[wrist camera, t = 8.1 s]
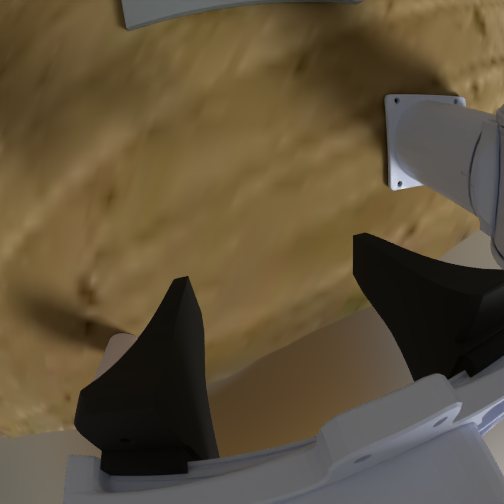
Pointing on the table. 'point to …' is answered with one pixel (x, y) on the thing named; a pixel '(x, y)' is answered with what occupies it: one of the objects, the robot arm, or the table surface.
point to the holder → (188, 8)
